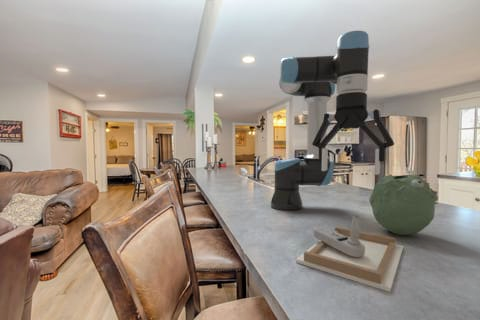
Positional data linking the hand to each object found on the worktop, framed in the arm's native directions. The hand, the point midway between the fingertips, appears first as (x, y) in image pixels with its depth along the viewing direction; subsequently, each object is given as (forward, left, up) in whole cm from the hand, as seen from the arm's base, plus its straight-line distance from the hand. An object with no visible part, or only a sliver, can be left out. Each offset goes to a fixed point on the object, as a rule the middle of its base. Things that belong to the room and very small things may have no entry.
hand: (349, 172), depth 66 cm
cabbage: (-24, +10, -22) cm, 34 cm away
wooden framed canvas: (+3, +2, -22) cm, 22 cm away
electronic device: (+3, -2, -20) cm, 21 cm away
